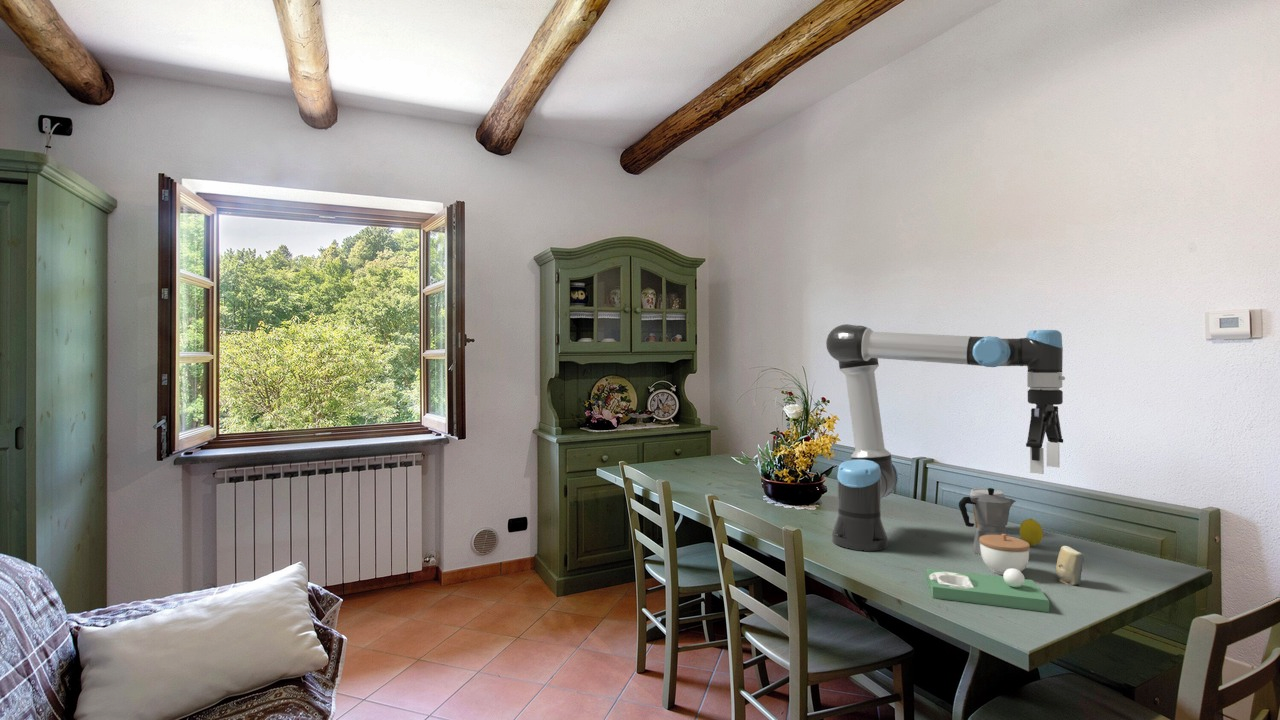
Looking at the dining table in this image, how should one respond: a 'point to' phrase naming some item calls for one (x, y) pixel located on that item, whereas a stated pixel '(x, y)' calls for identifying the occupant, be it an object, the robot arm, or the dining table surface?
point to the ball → (1013, 577)
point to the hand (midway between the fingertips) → (1045, 469)
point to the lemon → (1031, 531)
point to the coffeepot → (987, 515)
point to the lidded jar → (1004, 552)
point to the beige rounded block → (1069, 566)
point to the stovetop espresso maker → (984, 492)
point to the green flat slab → (985, 590)
